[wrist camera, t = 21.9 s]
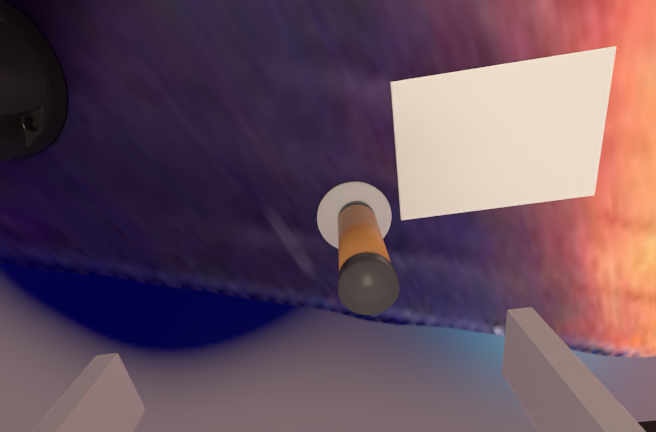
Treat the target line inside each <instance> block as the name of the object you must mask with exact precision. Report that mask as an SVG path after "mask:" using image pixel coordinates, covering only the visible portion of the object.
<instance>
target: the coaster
mask: <svg viewBox="0 0 656 432" xmlns="http://www.w3.org/2000/svg"><path fill="white" fill-rule="evenodd" d="M352 201H362V202H365V203H367V204H368V205H369V206H370V207H371V208H372V209H373V211H374V214H375V217H376V220H377V223H378V226H379V229H380V232H381V235H382V238H384V237H385V235H386V234H387V232H388V230H389V228H390V224H391V208H390V205H389V203H388V201H387V199H386V197H385V196H384V194H383V193H382V192H381V191H380V190H379V189H377V188H376V187H374V186H373V185H371V184H368V183H365V182H361V181H349V182H344V183H341V184H339V185H337V186H335V187H333V188H332V189H330V190H329V191H328V192H327V193H326V194H325V195H324V197H323V198H322V200H321V202H320V204H319V207H318V212H317V223H318V228H319V230H320V232H321V234H322V236H323V237H324V239H325V240H326V241H327V242H328V243H330V244H331V245H332V246H334V247H336V248H338V249H339V246H338V214H339V211H340V210H341V208H342V207H343V206H344V205H345V204H347V203H349V202H352Z"/></svg>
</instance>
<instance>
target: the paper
mask: <svg viewBox="0 0 656 432" xmlns="http://www.w3.org/2000/svg"><path fill="white" fill-rule="evenodd" d="M615 53H616V46H614V47H607V48H601V49H595V50H589V51H582V52H576V53H570V54H563V55H557V56H551V57H545V58H538V59H532V60H526V61H519V62H513V63H507V64H501V65H494V66H488V67H482V68H476V69H469V70H463V71H457V72H450V73H444V74H438V75H432V76H425V77H419V78H413V79H407V80H400V81H394V82H390V87H391V100H392V113H393V127H394V140H395V153H396V167H397V180H398V193H399V207H400V219H401V220H408V219H416V218H423V217H431V216H439V215H446V214H454V213H462V212H469V211H477V210H485V209H493V208H500V207H508V206H516V205H523V204H531V203H539V202H546V201H554V200H562V199H570V198H577V197H585V196H593V195H595V188H596V181H597V174H598V168H599V161H600V154H601V147H602V141H603V134H604V127H605V120H606V113H607V107H608V100H609V93H610V86H611V80H612V73H613V66H614V59H615Z"/></svg>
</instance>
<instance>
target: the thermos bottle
mask: <svg viewBox="0 0 656 432" xmlns="http://www.w3.org/2000/svg"><path fill="white" fill-rule="evenodd" d="M338 246H339V274H338V293H339V297H340V299H341V301H342V303H343V304H344V305H345V306H346V307H347V308H348V309H349V310H351V311H353V312H355V313H358V314H363V315H373V314H378V313H381V312H383V311H385V310H387V309H388V308H389V307H391V306H392V305H393V304H394V302H395V301H396V299H397V297H398V294H399V282H398V278H397V276H396V273H395V270H394V267H393V265H392V264H391V262H390V259H389V256H388V253H387V250H386V247H385V244H384V241H383V238H382V235H381V232H380V229H379V226H378V223H377V220H376V217H375V214H374V211H373V209H372V208H371V207H370V206H369V205H368V204H367V203H365V202H362V201H352V202H349V203H347V204H345V205H344V206H343V207H342V208H341V210H340V211H339V214H338Z"/></svg>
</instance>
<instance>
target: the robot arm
mask: <svg viewBox="0 0 656 432" xmlns="http://www.w3.org/2000/svg"><path fill="white" fill-rule="evenodd" d="M66 110H67V93H66V86H65V81H64V77H63V74H62V71H61V68H60V66H59V63H58V61H57V59H56V57H55V55H54V53H53V51H52V49H51V48H50V46H49V44H48V43H47V41H46V40H45V38H44V37H43V36H42V34H41V33H40V32H39V31H38V29H37V28H36V27H35V26H34V25H33V24H32V23H31V22H30V21H29V20H28V19H27V18H26V17H25V16H24V15H23V14H22V13H21V12H20V11H18V10H17V9H16V8H15V7H13V6H12V5H10V4H9V3H8V2H6V1H4V0H0V161H4V160H11V159H15V158H20V157H25V156H29V155H33V154H35V153H38V152H40V151H42V150H43V149H45V148H46V147H48V146H49V145H50V144H51V143H52V142H53V141H54V140H55V139H56V137H57V136H58V134H59V133H60V131H61V129H62V126H63V124H64V121H65V116H66ZM502 374H503V375H504V377H505V379H506V380H507V382H508V384H509V385H510V387H511V389H512V390H513V392H514V394H515V395H516V397H517V398H518V400H519V402H520V403H521V405H522V407H523V408H524V410H525V412H526V413H527V415H528V417H529V418H530V420H531V422H532V423H533V425H534V426H535V428H536V430H537V431H538V432H656V421H646V422H637V421H636V420H635V419H633V417H632V416H631V415H630V414H629V413H628V412H627V411H626V409H625V408H624V407H623V406H622V405H621V404H620V403H619V402H618V401H617V400H616V398H615V397H614V396H613V395H612V394H611V393H610V392H609V391H608V390H607V389H606V388H605V387H604V385H603V384H602V383H601V382H600V381H599V380H598V379H597V378H596V377H595V376H594V375H593V373H592V372H591V371H590V370H589V369H588V368H587V367H586V366H585V365H584V364H583V363H582V362H581V361H580V360H579V358H578V357H577V356H576V355H575V354H574V353H573V352H572V351H571V350H570V348H569V347H568V346H567V345H566V344H565V343H564V342H563V341H562V340H561V339H560V338H559V336H558V335H557V334H556V333H555V332H554V331H553V330H552V329H551V328H550V327H549V326H548V325H547V323H546V322H545V321H544V320H543V319H542V318H541V317H540V316H539V315H538V314H537V313H536V311H535V310H534V309H533V308H532V307H529V308H520V309H511V310H507V320H506V332H505V345H504V357H503V369H502ZM144 411H145V408H144V406H143V404H142V401H141V399H140V398H139V396H138V393H137V391H136V390H135V387H134V385H133V383H132V381H131V379H130V377H129V375H128V373H127V371H126V369H125V367H124V365H123V363H122V361H121V359H120V357H119V355H118V353H114V354H105V355H97V356H96V357H95V358H94V359H93V360H92V361H91V362H90V364H89V365H88V366H87V367H86V368H85V369H84V371H83V372H82V373H81V374H80V375H79V376H78V378H77V379H76V380H75V381H74V382H73V384H72V385H71V386H70V387H69V388H68V389H67V390H66V392H65V393H64V394H63V395H62V396H61V397H60V399H59V400H58V401H57V402H56V403H55V404H54V406H53V407H52V408H51V409H50V410H49V411H48V413H47V414H46V415H45V416H44V417H43V418H42V420H41V421H40V422H39V423H38V424H37V426H36V427H35V428H34V429H33V430H32V431H31V432H133V430H134V429H135V427H136V425H137V423H138V421H139V420H140V418H141V416H142V414H143V412H144Z"/></svg>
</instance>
